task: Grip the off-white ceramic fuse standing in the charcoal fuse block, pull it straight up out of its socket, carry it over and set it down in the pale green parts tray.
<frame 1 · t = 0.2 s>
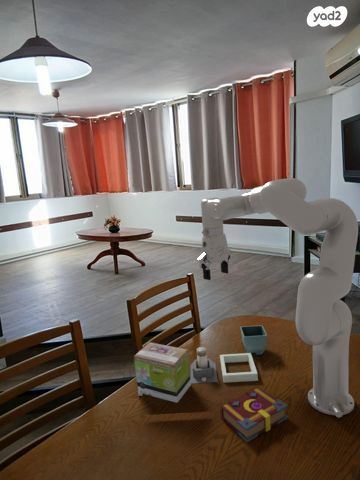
hand: (216, 276, 133), 31 cm above the table, tool pointing down, fingers open, 9 cm apart
parts tray: (238, 374, 122), on the table
decorative book: (255, 419, 100), on the table
fuse block: (203, 376, 122), on the table
flower pot: (254, 352, 135), on the table
fuse: (203, 372, 122), point 1 cm above the table, touching fuse block
tea box: (165, 393, 115), on the table
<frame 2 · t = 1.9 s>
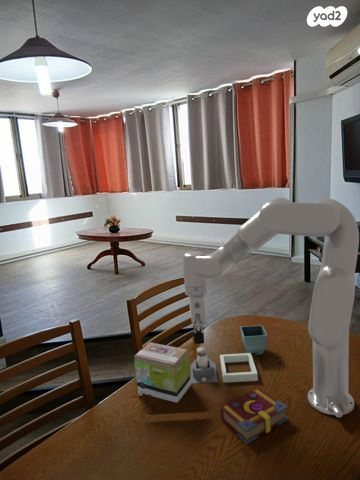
hand: (199, 336, 120), 15 cm above the table, tool pointing down, fingers open, 9 cm apart
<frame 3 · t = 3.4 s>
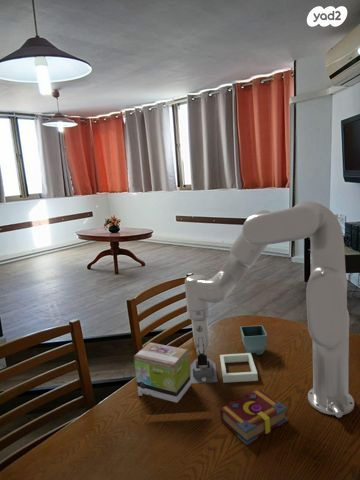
hand: (202, 361, 121), 6 cm above the table, tool pointing down, fingers closed on fuse, 3 cm apart
fuse: (203, 372, 122), point 1 cm above the table, touching fuse block, gripper
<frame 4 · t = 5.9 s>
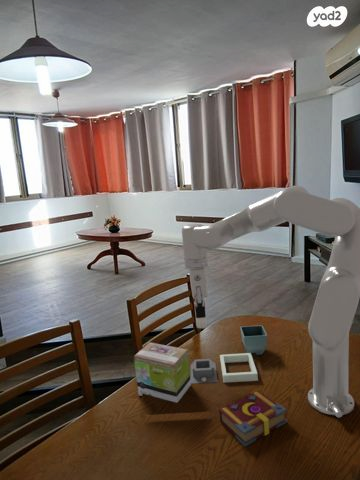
hand: (200, 314, 118), 23 cm above the table, tool pointing down, fingers closed on fuse, 3 cm apart
fuse: (201, 326, 119), point 19 cm above the table, touching gripper
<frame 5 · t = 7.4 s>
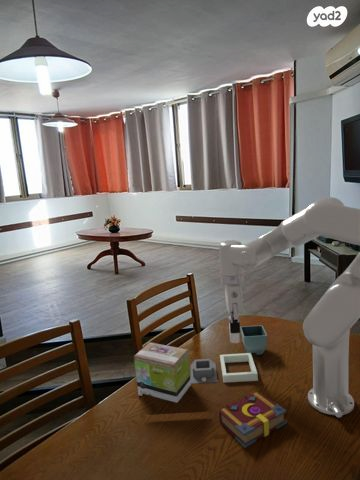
hand: (234, 329, 119), 17 cm above the table, tool pointing down, fingers closed on fuse, 3 cm apart
fuse: (234, 340, 120), point 12 cm above the table, touching gripper
when the fingers open (7 cm above the table, at t = 8.7 s): fuse drops 1 cm, resting on parts tray.
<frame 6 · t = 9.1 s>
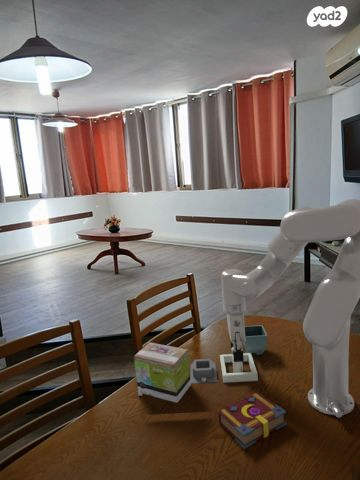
hand: (237, 354, 120), 7 cm above the table, tool pointing down, fingers open, 7 cm apart
fuse: (238, 371, 121), point 1 cm above the table, touching parts tray
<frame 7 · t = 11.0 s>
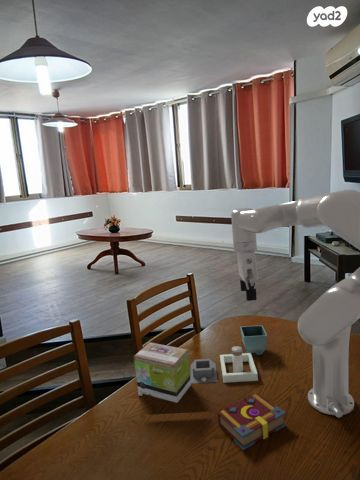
hand: (248, 295, 119), 28 cm above the table, tool pointing down, fingers open, 9 cm apart
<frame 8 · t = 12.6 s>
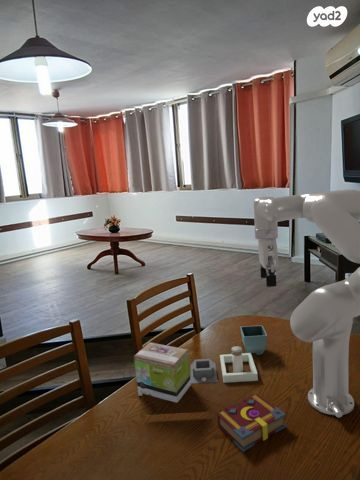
hand: (268, 281, 122), 30 cm above the table, tool pointing down, fingers open, 9 cm apart
at the end: fuse inside the target area on the parts tray (0.1 cm from its centre), point 1.0 cm above the parts tray's base; the gripper is holding nothing; fuse touching parts tray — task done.
